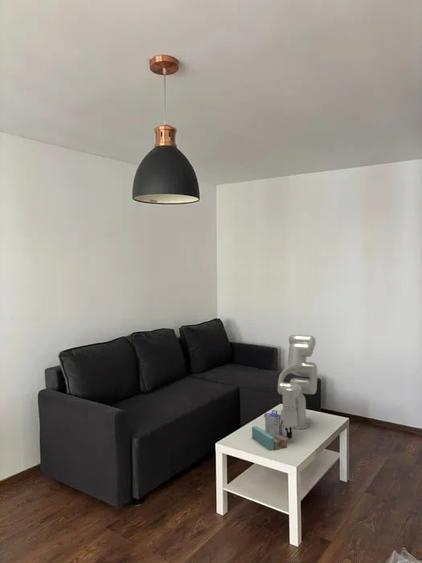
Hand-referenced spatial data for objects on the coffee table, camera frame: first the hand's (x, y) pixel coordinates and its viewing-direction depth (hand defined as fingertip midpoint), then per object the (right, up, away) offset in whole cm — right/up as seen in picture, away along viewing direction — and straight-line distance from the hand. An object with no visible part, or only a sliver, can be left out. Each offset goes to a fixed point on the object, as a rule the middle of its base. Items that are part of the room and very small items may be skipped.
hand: (289, 437), depth 254 cm
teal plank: (-16, -3, -1) cm, 16 cm away
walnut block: (-8, -3, -5) cm, 10 cm away
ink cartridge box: (-7, -3, +13) cm, 15 cm away
